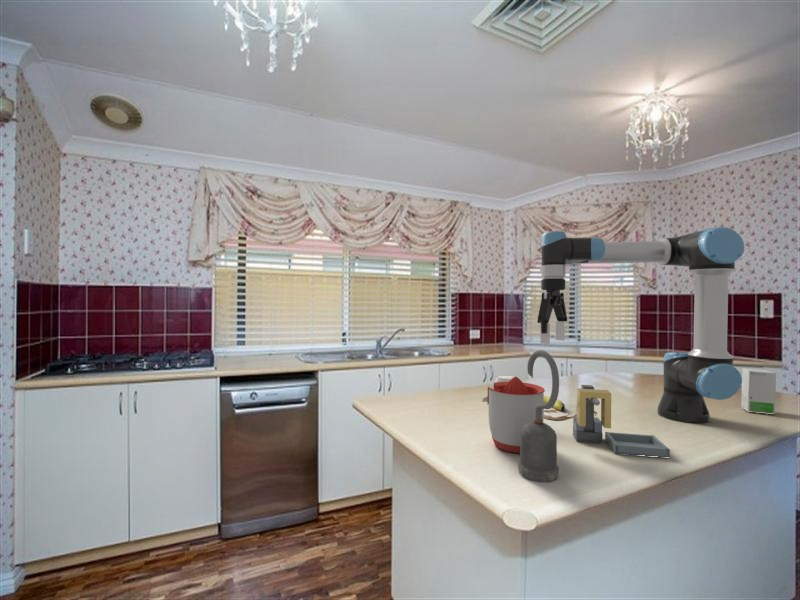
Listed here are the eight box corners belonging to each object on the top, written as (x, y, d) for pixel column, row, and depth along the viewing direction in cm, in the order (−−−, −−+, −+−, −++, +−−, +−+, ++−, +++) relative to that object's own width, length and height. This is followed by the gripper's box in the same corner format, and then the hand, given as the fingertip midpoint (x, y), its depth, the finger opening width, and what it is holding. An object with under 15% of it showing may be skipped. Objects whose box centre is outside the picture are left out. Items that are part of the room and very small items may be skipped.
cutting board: (609, 415, 147) (609, 404, 147) (553, 424, 135) (553, 413, 135) (539, 393, 179) (539, 385, 178) (489, 400, 167) (489, 390, 167)
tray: (654, 444, 116) (654, 435, 116) (669, 459, 106) (669, 449, 106) (605, 440, 119) (605, 431, 119) (615, 454, 109) (615, 445, 109)
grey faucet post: (597, 436, 122) (597, 384, 122) (610, 455, 108) (610, 396, 108) (572, 434, 124) (573, 383, 124) (582, 452, 110) (582, 394, 110)
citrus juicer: (491, 432, 126) (491, 369, 126) (549, 442, 117) (549, 374, 117) (473, 448, 112) (474, 377, 112) (538, 461, 104) (538, 384, 103)
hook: (538, 489, 89) (539, 354, 88) (508, 467, 100) (509, 347, 100) (575, 483, 92) (576, 352, 91) (542, 462, 103) (543, 346, 103)
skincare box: (747, 413, 148) (748, 370, 148) (740, 408, 154) (740, 367, 154) (776, 415, 145) (777, 372, 145) (767, 410, 151) (768, 369, 151)
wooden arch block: (607, 423, 113) (607, 390, 113) (611, 428, 109) (611, 393, 109) (576, 421, 115) (577, 388, 115) (579, 426, 111) (579, 391, 111)
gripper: (555, 279, 146) (555, 338, 146) (526, 277, 127) (526, 344, 127) (576, 279, 141) (576, 339, 141) (550, 276, 122) (550, 346, 122)
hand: (552, 341), depth 134 cm, fingers open, 13 cm apart
